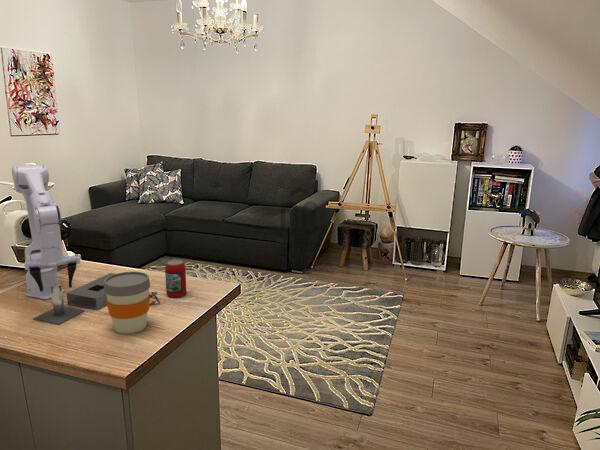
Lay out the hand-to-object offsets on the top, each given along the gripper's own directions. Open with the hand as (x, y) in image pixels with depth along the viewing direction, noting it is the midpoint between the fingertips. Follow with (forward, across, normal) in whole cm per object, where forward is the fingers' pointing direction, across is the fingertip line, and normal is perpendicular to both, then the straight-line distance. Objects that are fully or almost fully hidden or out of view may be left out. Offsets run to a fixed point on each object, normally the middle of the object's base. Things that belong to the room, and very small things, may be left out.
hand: (56, 288), depth 135 cm
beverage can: (+9, +36, +2) cm, 37 cm away
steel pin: (+8, 0, 0) cm, 9 cm away
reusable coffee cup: (+9, +19, -16) cm, 27 cm away
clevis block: (+9, +13, +11) cm, 19 cm away
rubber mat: (+9, 0, 0) cm, 9 cm away
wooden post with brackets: (+9, +25, -3) cm, 27 cm away
